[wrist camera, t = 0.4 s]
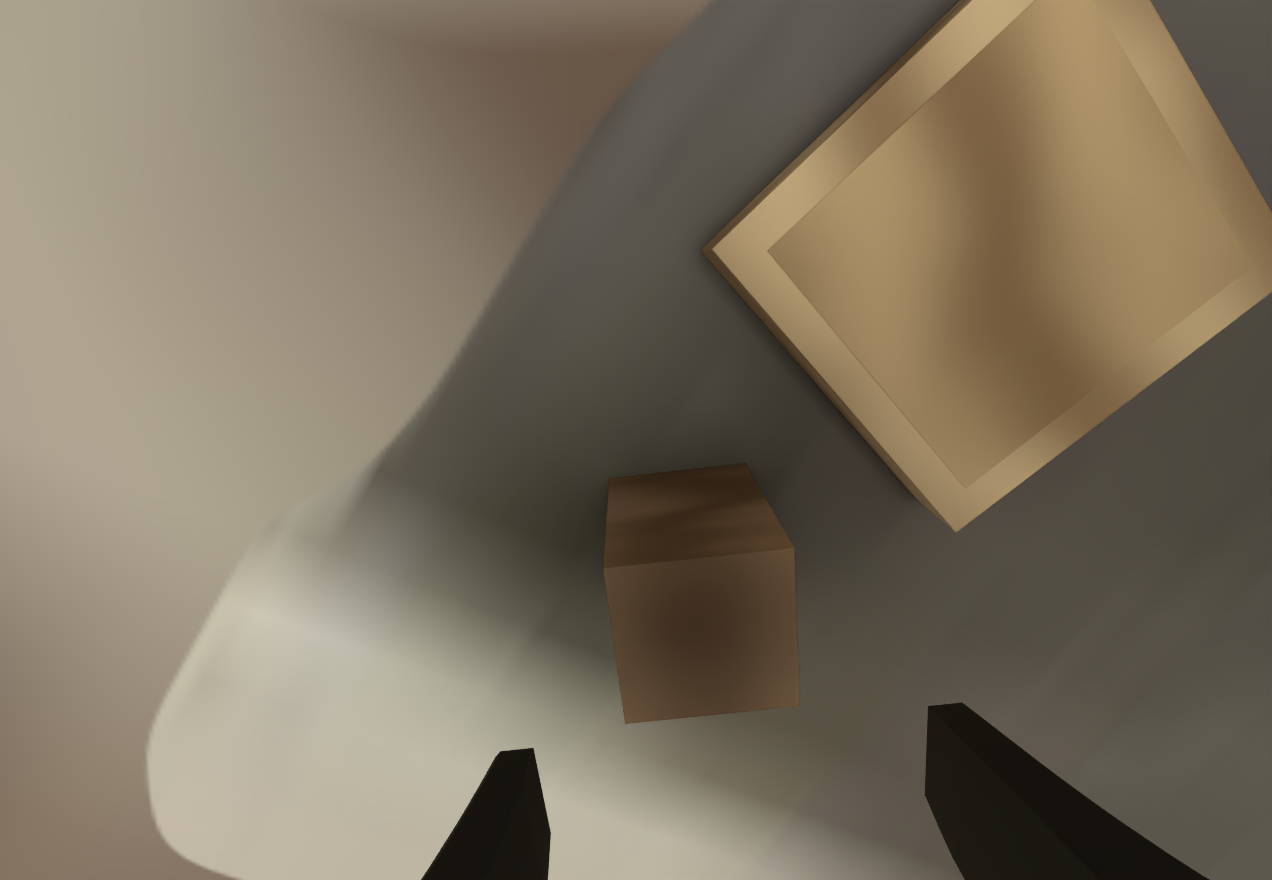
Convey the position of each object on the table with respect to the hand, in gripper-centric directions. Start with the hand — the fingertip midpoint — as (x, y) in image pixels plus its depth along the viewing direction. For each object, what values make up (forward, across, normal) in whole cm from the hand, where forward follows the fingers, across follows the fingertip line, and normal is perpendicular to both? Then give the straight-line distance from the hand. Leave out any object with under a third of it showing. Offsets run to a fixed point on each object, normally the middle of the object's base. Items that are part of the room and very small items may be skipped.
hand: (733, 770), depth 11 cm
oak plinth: (+10, -9, -8) cm, 16 cm away
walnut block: (+10, 0, 0) cm, 10 cm away
